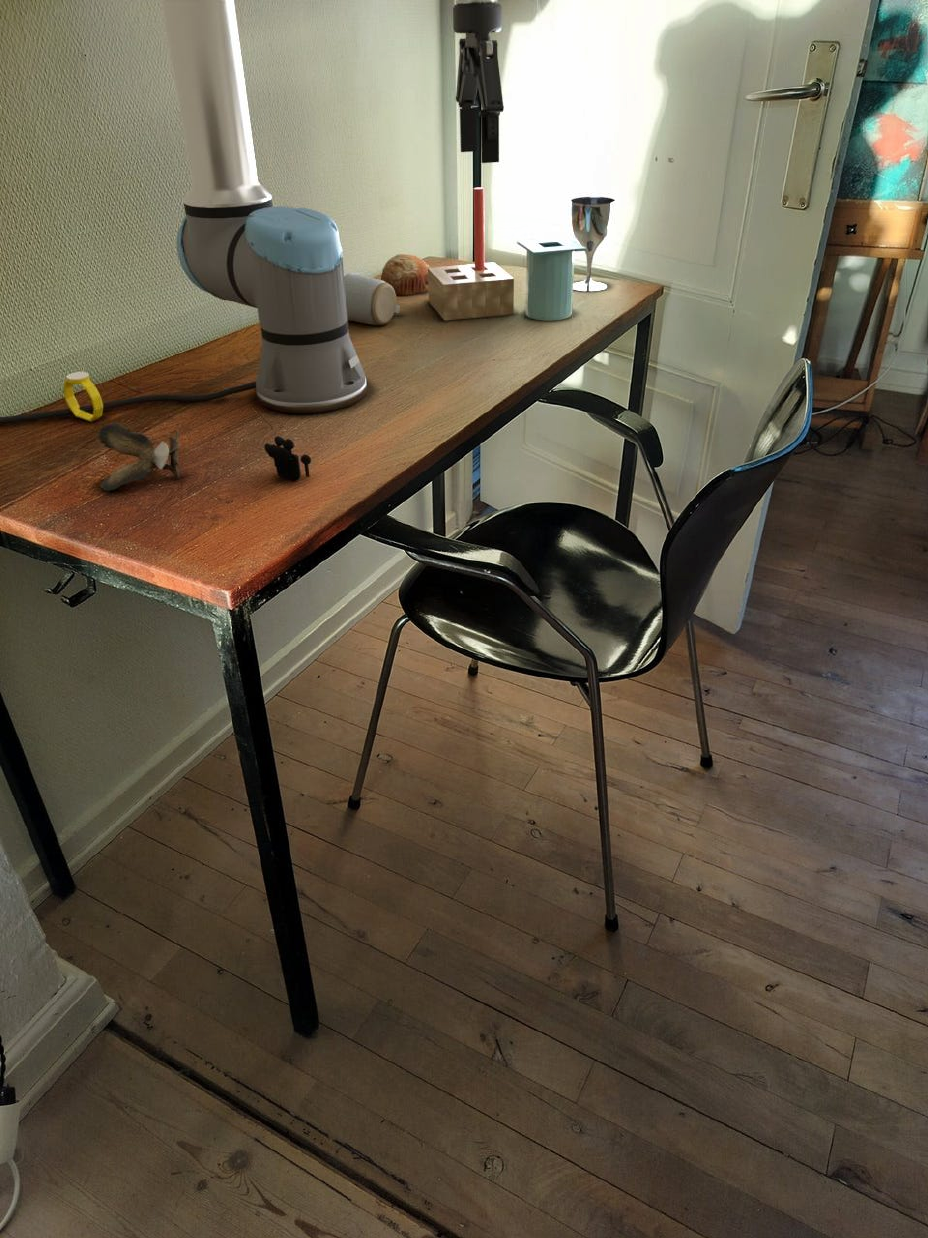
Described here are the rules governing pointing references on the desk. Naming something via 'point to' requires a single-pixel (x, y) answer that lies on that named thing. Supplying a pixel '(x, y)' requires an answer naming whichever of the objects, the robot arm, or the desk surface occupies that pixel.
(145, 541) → the desk surface
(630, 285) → the desk surface
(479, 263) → the straw
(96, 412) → the watch
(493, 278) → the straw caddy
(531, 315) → the light blue pen holder
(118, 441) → the eagle figurine
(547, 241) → the lid
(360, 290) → the ceramic mug
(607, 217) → the wine glass
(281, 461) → the wireless earbuds
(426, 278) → the muffin
